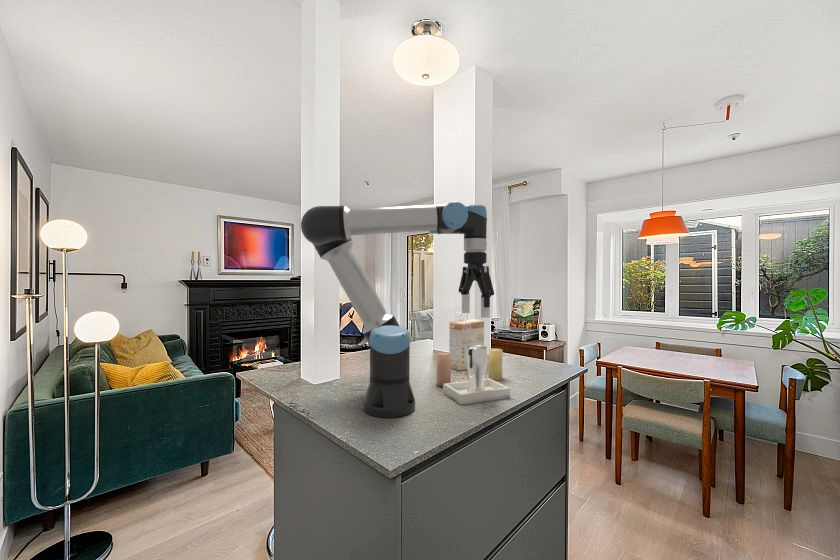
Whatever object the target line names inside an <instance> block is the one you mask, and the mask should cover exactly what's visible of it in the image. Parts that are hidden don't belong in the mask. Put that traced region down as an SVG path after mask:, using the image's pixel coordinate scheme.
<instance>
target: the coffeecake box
mask: <svg viewBox="0 0 840 560" xmlns="http://www.w3.org/2000/svg"><path fill="white" fill-rule="evenodd" d="M448 342H449V352H448V353H451V369H453V370H457V371H464V370H467V368H466V350H467V346H470V345H480V346H485V320H481V319H475V318H474V319H463V320H455V321H449V341H448Z"/></svg>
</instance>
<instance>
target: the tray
mask: <svg viewBox="0 0 840 560" xmlns="http://www.w3.org/2000/svg"><path fill="white" fill-rule="evenodd" d="M467 388H468V380H466V381H465V380H464V381H457V382H454V381H453V382H450V383H446V384H443V386H442V393H443V394H444V395H446V396H448V397H449V398H451V399H452V400H453V401H454V402H456V403H458V404H459V405H468V404H474V403H475V404H476V403H481V402H482V403H483V402H488V401H494V400H495V401H496V400H502V399H507V398H508V399H509V398H511V388H510V387H508V386H506V385H504V384H502V383H500V382H498V381H497V380H492V379H490V378H489V377H488V378H485V391H477V392H469V393H467Z"/></svg>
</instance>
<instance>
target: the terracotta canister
mask: <svg viewBox="0 0 840 560" xmlns="http://www.w3.org/2000/svg"><path fill="white" fill-rule="evenodd" d="M451 371H452V368H451V353H449V352H446V351H445V352H437V353H436V381H435V382H436V386H438V387H443V384H446V383H451V382H452V381H451V376H452V372H451Z"/></svg>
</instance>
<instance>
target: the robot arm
mask: <svg viewBox="0 0 840 560" xmlns="http://www.w3.org/2000/svg"><path fill="white" fill-rule="evenodd" d="M487 212H488V211H487V207H486V206H485V205H483V204H476V203H474V204H467V205H465V204H463V203H462V202H460V201H451V202H448V203H444V204H423V205H407V206H406V205H405V206H385V207H366V208H365V207H364V208H362V207H361V208H348V207H347V206H346V205H318V206H314V207H311V208H309V209H308V210H307V211H306V212H305V213H304V214H303V216H302V217H301V221H300V230H301V232H302V235H303V236H304V238H305V239H306V240H307V241H308V242H309V243H311V244H312V245H313V247H314V249H315V251H316V252H317V253H318V255H319V258H320V259H321V260H325V261H327V262H328V264H329V265H330V268H331V269H332V271H333V273H334V275H335V276H336V277H337V280H338V282H339V284H340V285H341V287H342V288H343V291H344V292H345V294H346V296H347V298H348V300H349V301H350V303H351V305H352V307H353V309H354V310H355V312H356V314H357V316H358V317H359V319H360V321H361V323H362V324H363V329H362V334H363V336H364V338H365V340H366V341H367V343H368V345H369V383H368V386H367V389H366V393H365V396H364V399H363V405H362V406H363V411H364V413H366V414H368V415H370V416H373V417H378V418H388V419H389V418H399V417H403V416H408V415H410V414H411V413H413V412H415V410H416V399H415V396H414V393H413V389H412V386H411V383H410V370H411V369H410V357H411V353H410V352H411V347H410V346H411V336H410V335H411V334H410V332H409V329H407V328H405V327H402V326H401V325H400V324H399V322H398V321H397V318H396V317H395V315H394V314H392V313H389V312H387V310H386V308H385V306H384V304H383V303H382V301H381V299H380V297H379V296H378V294H377V292H376V291H375V288H374V286H373V284H372V282H371V281H370V279H369V277H368V276H367V274H366V272H365V271H364V269H363V267H362V264H361V263H360V261H359V259H358V257H357V256H356V254H355V252H354V250H353V245H354V241H353V239H352V237H351V236H360V235H361V236H364V235H365V236H366V235H367V236H368V235H379V234H381V235H382V234H383V235H384V234H396V233H399V234H400V233H413V232H427V231H428V232H429V233H430V234H435V235H436V234H437V235H445V234H446V235H449V234H450V235H454V234H455V235H463V251H464V253H463V264H467V266H462V273H461V278H460V283H459V286H458V293H460V295H461V314H470V312H471V310H470V308H471V307H470V305H471V304H470V303H471V302H470V298H471V297H470V296H471V294H470V291H471V288H472V286H473V283H474V281H476V282H477V285H478V288H479V290H480V293H481V296H480V318H481V319H486V318H490V317H491V316H490V315H491V313H490V308H491V307H490V306H491V302H490V301H491V300H490V299H491V297H492V296H494V295H495V291H494V288H493V283H492V279H491V278H492V277H491V275H490V267H489V266H488V265H485V264H486V263H487V262H488V261H487V257H488V256H487V252H486V251H487V245H488V243H487V228H488V227H487V225H488V223H487V222H488V214H487Z"/></svg>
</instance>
